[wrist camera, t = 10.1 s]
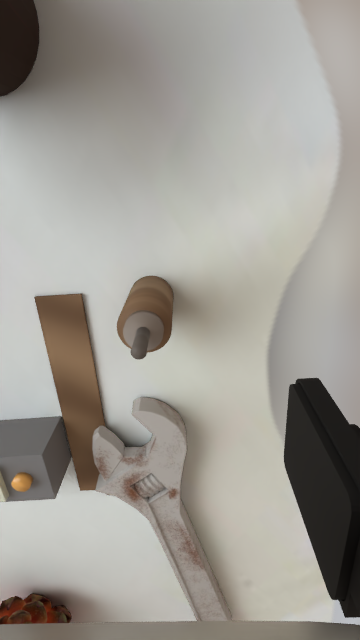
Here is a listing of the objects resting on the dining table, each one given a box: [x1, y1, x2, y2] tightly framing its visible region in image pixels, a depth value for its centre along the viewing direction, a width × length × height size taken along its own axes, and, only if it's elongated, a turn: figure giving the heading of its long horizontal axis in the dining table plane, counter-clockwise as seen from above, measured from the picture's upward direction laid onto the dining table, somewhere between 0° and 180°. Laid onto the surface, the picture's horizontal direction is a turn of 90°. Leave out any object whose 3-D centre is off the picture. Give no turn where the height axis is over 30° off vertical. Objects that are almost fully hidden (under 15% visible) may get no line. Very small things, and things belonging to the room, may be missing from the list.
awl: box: [117, 276, 173, 359], centre depth 18 cm, size 3×3×8 cm
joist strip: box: [34, 294, 106, 491], centre depth 25 cm, size 17×3×1 cm, turn 3°
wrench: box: [92, 397, 232, 621], centre depth 30 cm, size 8×2×30 cm
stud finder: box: [0, 416, 71, 502], centre depth 24 cm, size 4×7×4 cm, turn 95°
